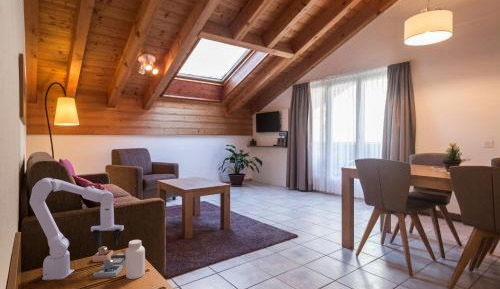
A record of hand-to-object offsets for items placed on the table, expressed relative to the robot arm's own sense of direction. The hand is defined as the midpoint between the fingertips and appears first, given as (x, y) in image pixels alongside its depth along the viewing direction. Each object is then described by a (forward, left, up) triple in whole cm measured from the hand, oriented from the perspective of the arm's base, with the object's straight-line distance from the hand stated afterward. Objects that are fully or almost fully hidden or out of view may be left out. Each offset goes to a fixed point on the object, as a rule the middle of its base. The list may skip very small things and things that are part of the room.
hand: (107, 245), depth 135 cm
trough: (+3, -8, -10) cm, 13 cm away
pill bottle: (+16, -11, -10) cm, 22 cm away
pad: (+3, +1, -9) cm, 9 cm away
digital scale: (+3, +2, -10) cm, 11 cm away
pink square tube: (-6, +8, -10) cm, 14 cm away
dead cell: (-6, +8, -10) cm, 14 cm away
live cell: (+3, -7, -10) cm, 13 cm away
